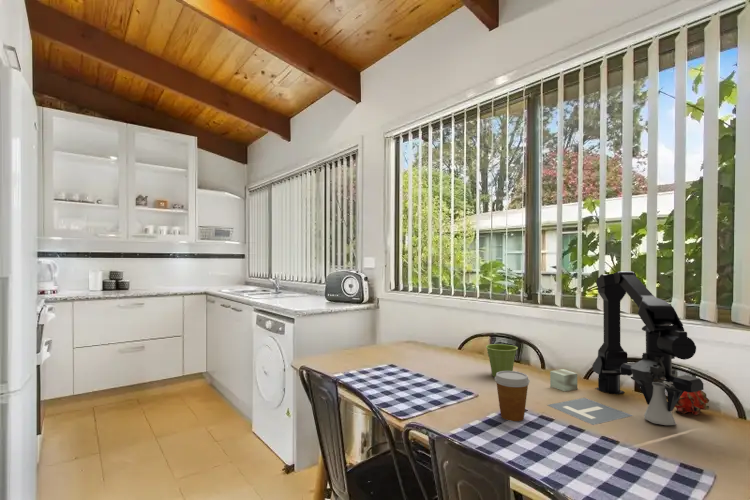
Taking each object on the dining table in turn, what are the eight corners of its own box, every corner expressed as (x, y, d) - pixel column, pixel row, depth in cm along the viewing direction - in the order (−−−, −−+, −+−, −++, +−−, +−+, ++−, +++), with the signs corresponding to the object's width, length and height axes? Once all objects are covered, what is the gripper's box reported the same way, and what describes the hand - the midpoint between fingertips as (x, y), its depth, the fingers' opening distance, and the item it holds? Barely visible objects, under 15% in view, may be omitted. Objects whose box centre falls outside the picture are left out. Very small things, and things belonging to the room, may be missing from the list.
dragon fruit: (707, 416, 119) (678, 427, 116) (682, 392, 126) (653, 402, 122) (724, 399, 114) (693, 410, 111) (696, 375, 121) (666, 384, 117)
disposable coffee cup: (490, 411, 120) (489, 370, 120) (521, 410, 121) (520, 369, 121) (502, 424, 111) (502, 380, 111) (536, 423, 111) (535, 379, 112)
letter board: (584, 399, 129) (584, 397, 129) (633, 417, 115) (633, 415, 115) (546, 407, 123) (546, 404, 123) (593, 427, 109) (593, 424, 109)
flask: (682, 427, 106) (681, 388, 106) (651, 425, 107) (650, 387, 107) (667, 416, 113) (667, 380, 113) (639, 414, 114) (638, 379, 114)
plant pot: (521, 374, 157) (520, 345, 157) (513, 382, 147) (513, 351, 147) (490, 370, 164) (490, 342, 164) (481, 377, 154) (481, 348, 154)
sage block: (563, 386, 143) (562, 369, 144) (577, 391, 138) (577, 373, 138) (550, 388, 141) (550, 371, 141) (564, 393, 136) (564, 375, 136)
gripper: (606, 346, 116) (607, 400, 116) (676, 361, 99) (677, 426, 98) (632, 342, 120) (633, 395, 120) (704, 356, 103) (705, 418, 103)
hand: (659, 407), depth 110 cm, fingers closed on flask, 5 cm apart
